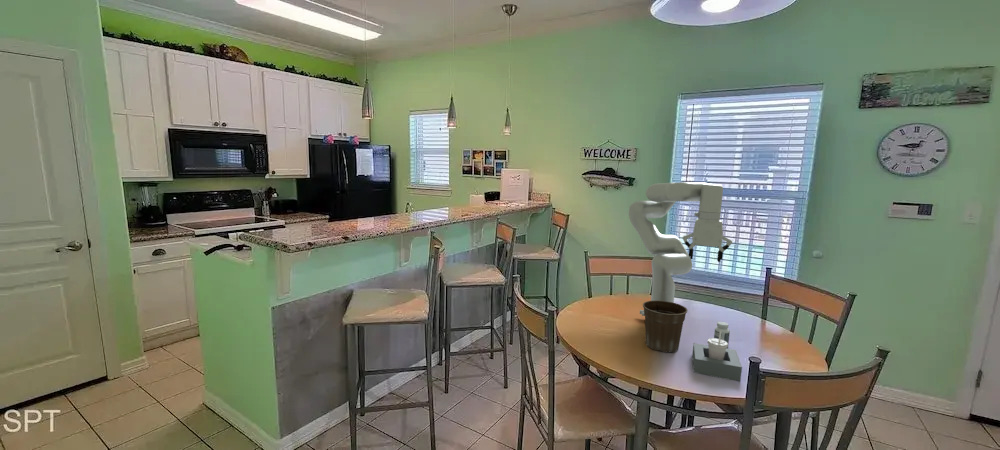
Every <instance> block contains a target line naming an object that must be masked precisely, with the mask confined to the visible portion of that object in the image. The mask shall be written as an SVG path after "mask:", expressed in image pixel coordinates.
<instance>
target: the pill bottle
mask: <svg viewBox="0 0 1000 450" xmlns="http://www.w3.org/2000/svg"><path fill="white" fill-rule="evenodd" d="M720 330H722V331H721V339H722V340H724V341H726V342H727V343H728V345H729V344H730V343H729V341H730V329H729V322H724V321H717V323H716V326H715V328H714V334H713V338H717V339H719V333H720Z"/></svg>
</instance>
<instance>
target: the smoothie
mask: <svg viewBox="0 0 1000 450" xmlns="http://www.w3.org/2000/svg"><path fill="white" fill-rule="evenodd" d="M721 331H722V330H720V333H719V339H717V338H714V337H710V338H708V339H707V345H708V346H709V358H714V359H719V360H723V359H724V355H725V352H726V349H728V347H729V344H728V343H727V342H726V341H724V340H722V339H721Z"/></svg>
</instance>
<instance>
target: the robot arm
mask: <svg viewBox="0 0 1000 450" xmlns="http://www.w3.org/2000/svg"><path fill="white" fill-rule="evenodd" d="M723 193H724V186H723V185H722V184H716V183H707V182H696V181H695V182H694V181H693V182H692V181H691V182H687V181H686V182H685V181H684V182H681V181H680V182H665V183H664V182H659V183H653V184H651V185H649V186H648V187H647V188H646V191H645V196H646V198H647V199H648V200H637V201H634V202H632V203H631V204H630V206H629V208H628V218H629V220H630V221H629V222H630V223H631V226H632V227H633V228H634V230H636V232H637V234H638V235H639V237H640V240H641V241H642V243H643V245H644V247H645V249H646V251H647V252H648V254H650V255H651V256H653V258H652V260H651V270H652V283H651V284H652V285H651V297H650V301H654V300H658V301H668V302H673V303H675V294H676V293H675V291H676V285H675V281H674V278H673V277H672V276H674V275H676V276H677V275H686V274H688V273H690V272H691V270H692V269H693V261H692V260H693V257H694V247H695V246H701V247H711V248H712V247H713V248H718V251H717V258H716V259H717V262H718V263H721V260H723V255H724V254H723V253H724V252H725V251H726V250H728V249H729V248H730V246H731V245H732V244H733V240H731V239H730V238H728V237H726V236H724V235H723V233H724V232H723V231H724V229H723V228H724V227H723V226H724V225H723V221H722V220H721V215H722V213H721V212H722V211H721V210H722V202H723V195H724V194H723ZM677 202H699V205H698V211H697V212H694V217H697V218H696V219H695V222H694V226H693V232H691V233H688V234H686V235H684V236H682V240H683V242H684V244H683V243H682V241H681V239H680V238H679V237H677V236H676V235H675V234H664V233H663V234H662V233H660V231H659V229H658V228H657V226H656V225H655V224H654V223H653V222H652V221H650V220H649V219H660V218H661V219H662V218H663V217H665V216H666V215H667V214H668V212H669V211H670V210H671V209H672V207H673V206H674V205H675V203H677ZM691 238H692V242H691V243H689V241H688V239H691ZM723 241H725V244H724V245H723ZM722 245H723V246H722ZM685 246H686V247H687V248H688V251H687V249H686V248H685ZM639 314H640V315H641V316H643V317H645V315H644V309H639Z"/></svg>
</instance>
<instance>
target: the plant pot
mask: <svg viewBox="0 0 1000 450" xmlns="http://www.w3.org/2000/svg"><path fill="white" fill-rule="evenodd" d="M642 307H643V310H644V315H645V316H644V324H645V325H644V326H645V327H644V331H645V333H644V334H645V345H646V347H648V348H650V349H652V350H654V351H660V352H661V353H674V352H677V351H678V350H679V348H680V342H681V336H682V331H683V325H684V323H685V319H686V314H687V313H688V308H687V307H685V306H684V305H682V304H681V303H680V304H679V303H677V302H674V303H673V302H668V301H658V300H654V301H651V300H647V301H644V302H643V303H642Z"/></svg>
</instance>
